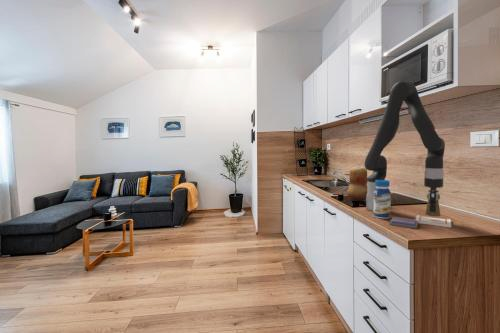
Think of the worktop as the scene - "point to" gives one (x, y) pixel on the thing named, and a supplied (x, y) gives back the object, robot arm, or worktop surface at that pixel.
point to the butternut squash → (357, 183)
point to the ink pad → (404, 222)
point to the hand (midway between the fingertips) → (432, 211)
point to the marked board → (433, 221)
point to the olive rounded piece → (436, 207)
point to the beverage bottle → (382, 199)
